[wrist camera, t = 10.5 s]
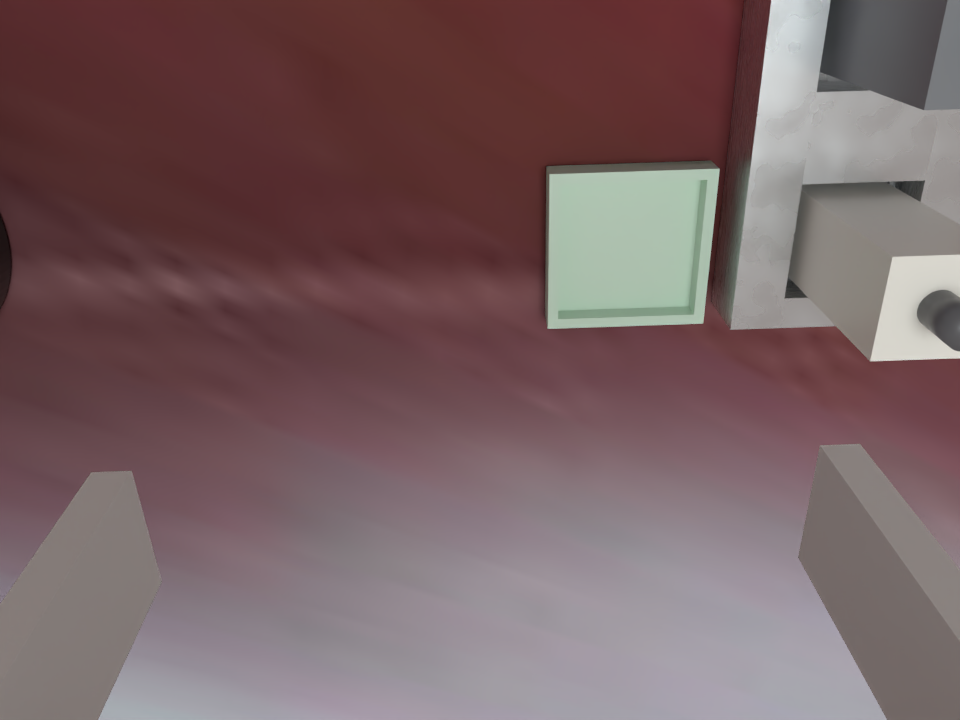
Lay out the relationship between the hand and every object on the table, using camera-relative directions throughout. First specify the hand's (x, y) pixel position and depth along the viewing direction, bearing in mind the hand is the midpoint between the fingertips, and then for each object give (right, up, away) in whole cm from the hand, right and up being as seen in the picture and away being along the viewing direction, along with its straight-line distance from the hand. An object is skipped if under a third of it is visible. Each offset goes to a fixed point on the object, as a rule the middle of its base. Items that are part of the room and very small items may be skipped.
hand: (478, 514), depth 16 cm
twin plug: (+20, +21, +26) cm, 38 cm away
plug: (+20, +11, +31) cm, 38 cm away
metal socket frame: (+20, +16, +29) cm, 39 cm away
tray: (+8, +10, +32) cm, 34 cm away
